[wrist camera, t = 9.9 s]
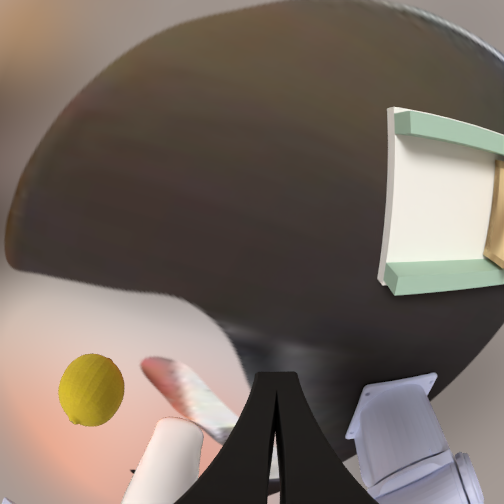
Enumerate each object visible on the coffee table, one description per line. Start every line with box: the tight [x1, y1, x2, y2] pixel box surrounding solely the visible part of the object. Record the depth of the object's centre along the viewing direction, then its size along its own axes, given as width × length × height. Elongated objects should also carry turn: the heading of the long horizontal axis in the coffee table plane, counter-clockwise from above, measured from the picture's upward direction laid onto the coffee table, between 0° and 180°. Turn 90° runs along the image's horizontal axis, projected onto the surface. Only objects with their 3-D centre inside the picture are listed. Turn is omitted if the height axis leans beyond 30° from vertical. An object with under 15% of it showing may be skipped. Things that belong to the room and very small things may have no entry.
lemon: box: [58, 354, 124, 426], centre depth 18 cm, size 6×6×8 cm
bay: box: [377, 107, 504, 295], centre depth 13 cm, size 11×16×3 cm
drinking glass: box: [121, 417, 204, 504], centre depth 18 cm, size 7×7×15 cm
